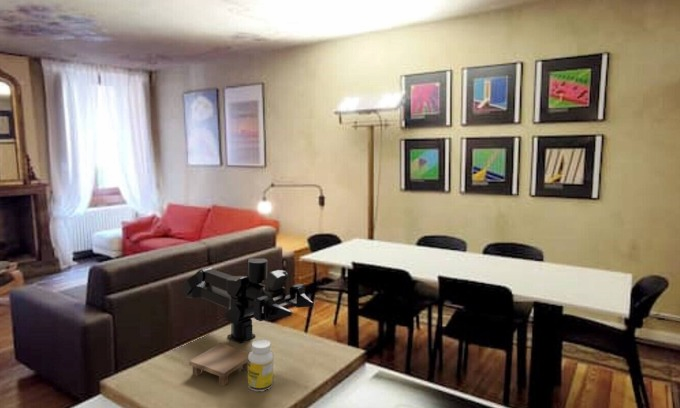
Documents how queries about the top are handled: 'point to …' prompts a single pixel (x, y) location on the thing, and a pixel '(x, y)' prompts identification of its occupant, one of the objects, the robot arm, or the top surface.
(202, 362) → the small wooden stand
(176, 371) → the top surface
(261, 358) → the pill bottle
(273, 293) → the robot arm
